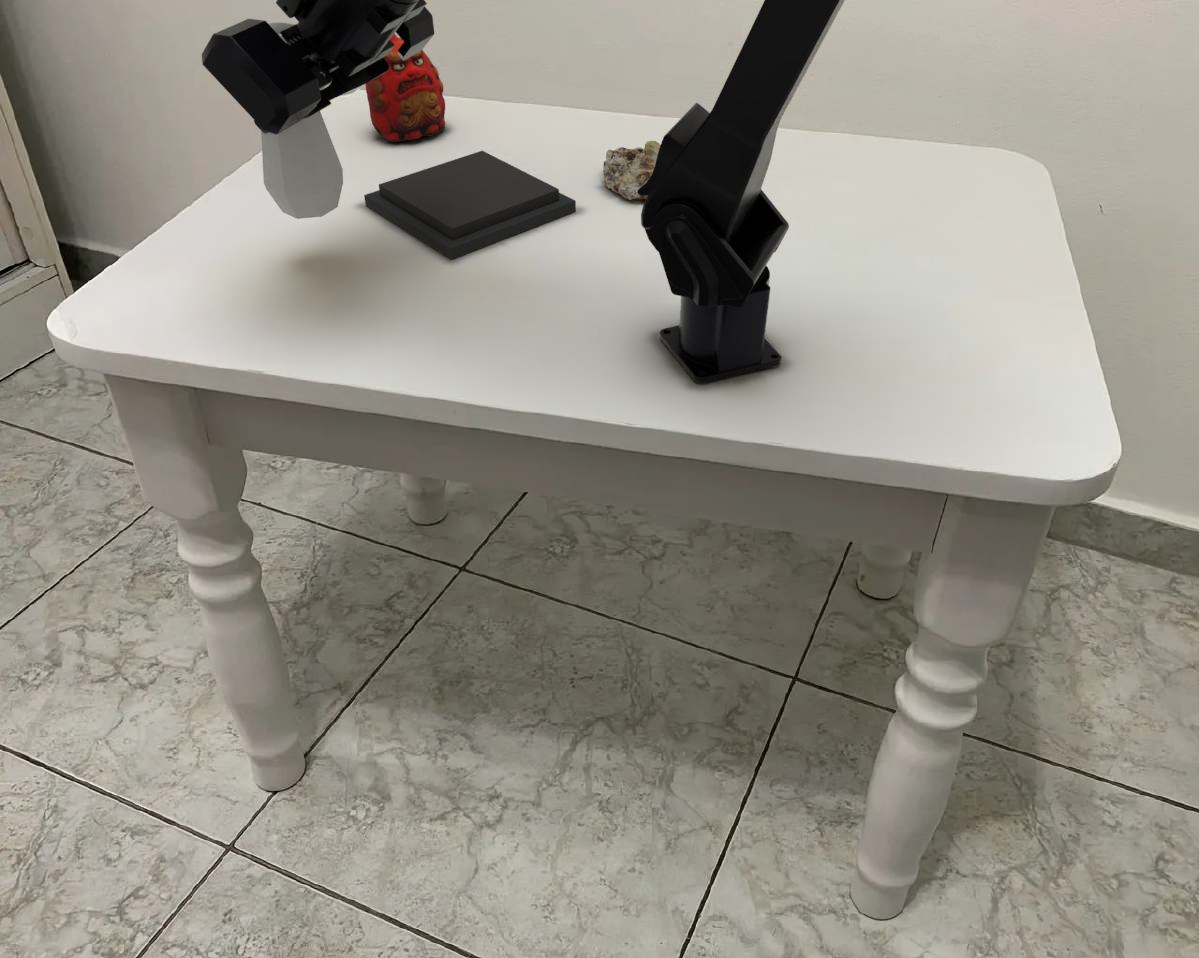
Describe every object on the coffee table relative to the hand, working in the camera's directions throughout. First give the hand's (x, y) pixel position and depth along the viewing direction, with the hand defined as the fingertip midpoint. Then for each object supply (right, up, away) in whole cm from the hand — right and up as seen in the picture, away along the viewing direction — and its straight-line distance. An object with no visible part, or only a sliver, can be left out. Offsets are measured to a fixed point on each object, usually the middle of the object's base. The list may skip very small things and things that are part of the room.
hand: (276, 118), depth 73 cm
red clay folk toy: (+4, +8, +28) cm, 29 cm away
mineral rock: (+29, 0, +18) cm, 34 cm away
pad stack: (+12, -3, +14) cm, 19 cm away
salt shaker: (+1, -5, +4) cm, 7 cm away
